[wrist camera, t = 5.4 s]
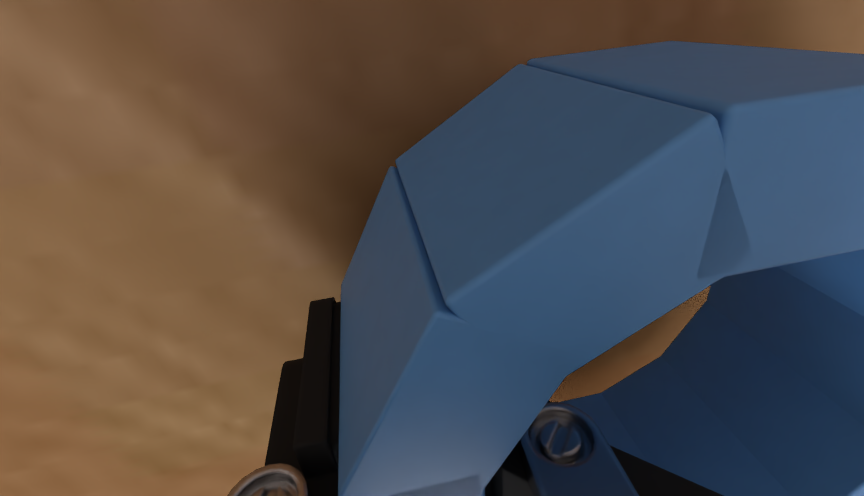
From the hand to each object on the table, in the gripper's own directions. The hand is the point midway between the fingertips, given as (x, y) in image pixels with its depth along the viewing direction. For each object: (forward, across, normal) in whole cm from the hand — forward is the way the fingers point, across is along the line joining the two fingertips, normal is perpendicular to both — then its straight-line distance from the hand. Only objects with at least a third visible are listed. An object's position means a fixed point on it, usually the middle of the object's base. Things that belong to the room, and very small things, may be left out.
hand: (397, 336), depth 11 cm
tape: (0, -5, 0) cm, 5 cm away
